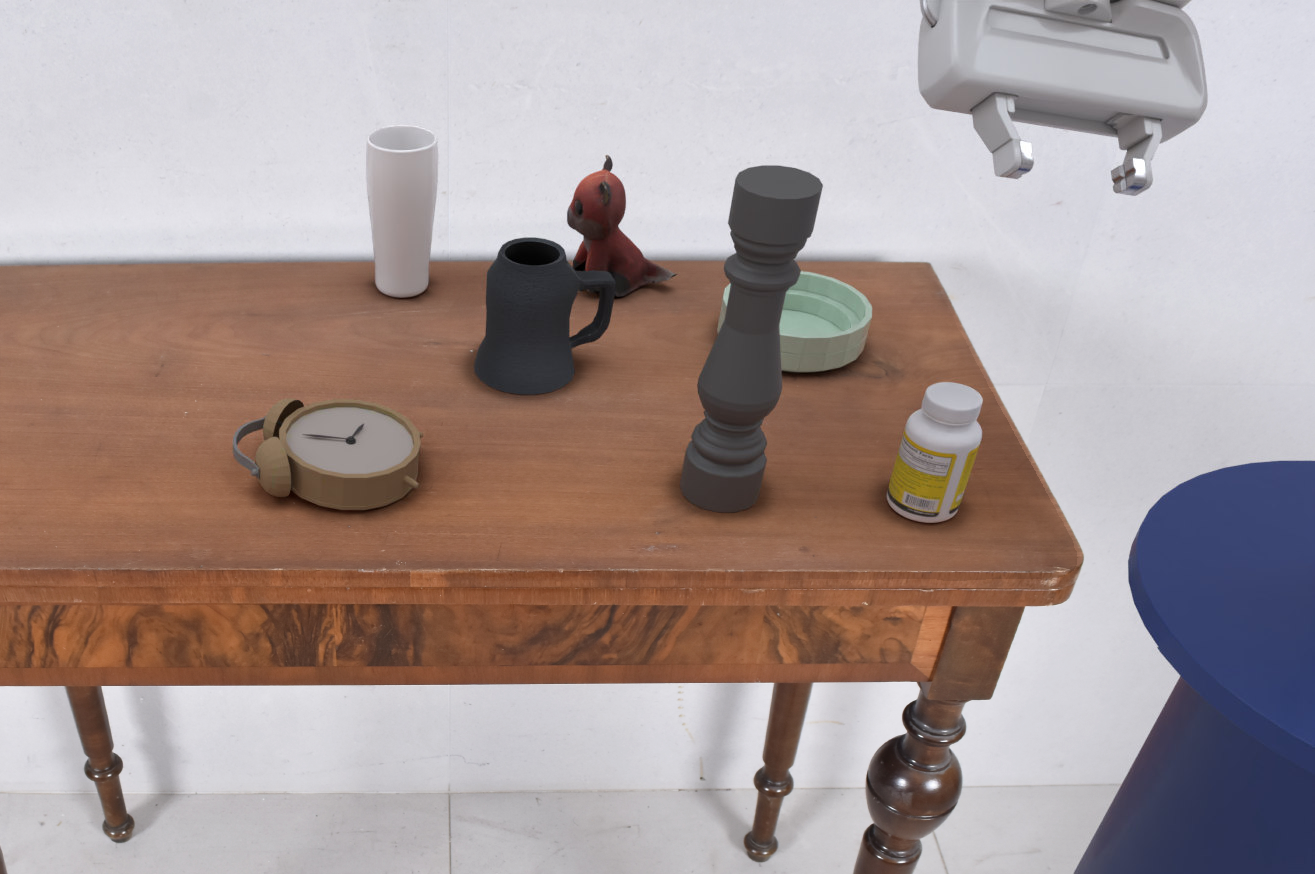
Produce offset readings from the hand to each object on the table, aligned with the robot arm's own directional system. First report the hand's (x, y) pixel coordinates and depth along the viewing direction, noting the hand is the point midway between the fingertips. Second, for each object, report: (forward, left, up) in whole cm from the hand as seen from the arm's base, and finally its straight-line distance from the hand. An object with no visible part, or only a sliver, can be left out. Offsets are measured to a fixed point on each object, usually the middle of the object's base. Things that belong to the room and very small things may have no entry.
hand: (1075, 182), depth 82 cm
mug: (+38, -2, -27) cm, 46 cm away
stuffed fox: (+39, -20, -27) cm, 51 cm away
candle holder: (+17, +7, -27) cm, 32 cm away
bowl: (+21, -19, -26) cm, 38 cm away
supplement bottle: (+3, 0, -27) cm, 27 cm away
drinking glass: (+57, -8, -27) cm, 63 cm away
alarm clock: (+44, +22, -27) cm, 56 cm away
